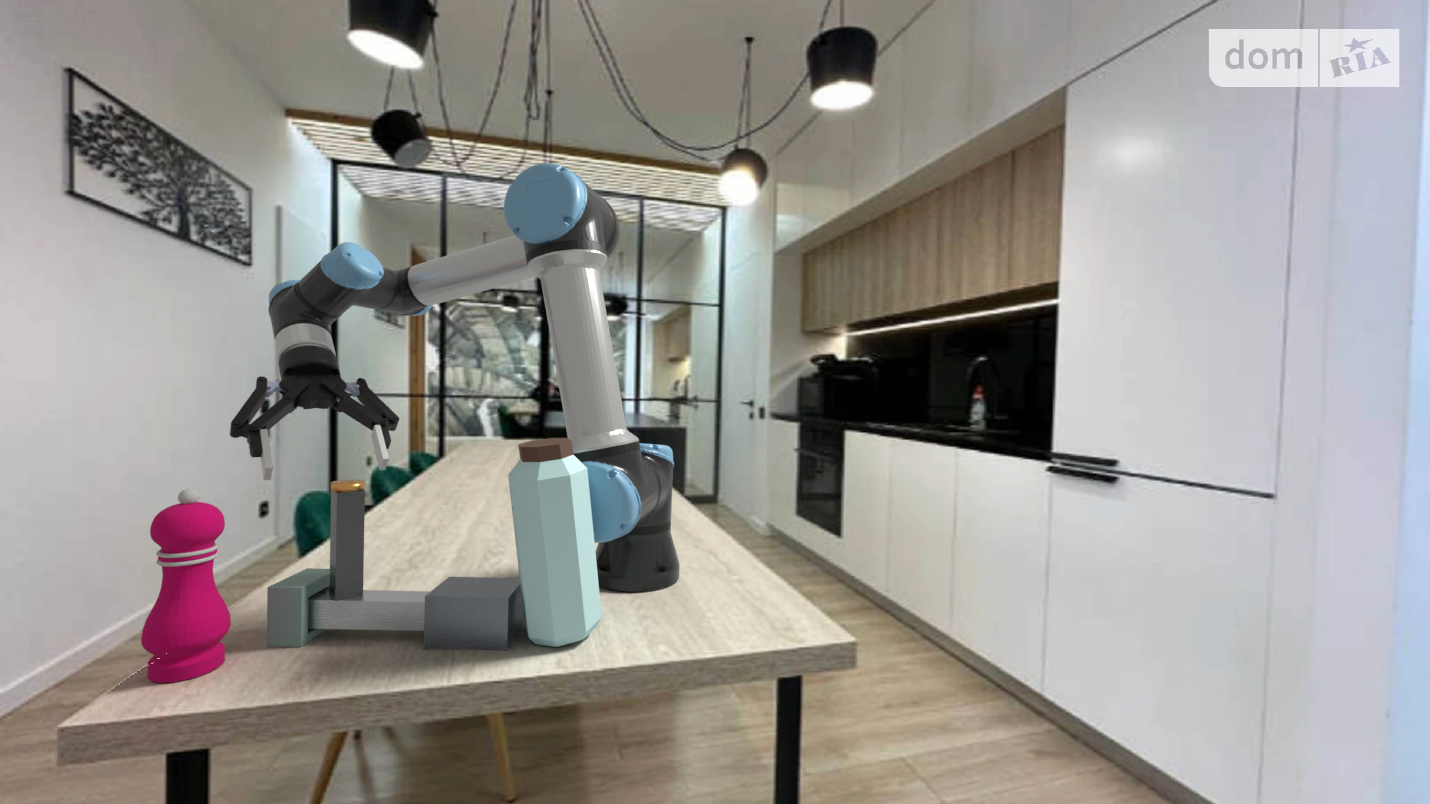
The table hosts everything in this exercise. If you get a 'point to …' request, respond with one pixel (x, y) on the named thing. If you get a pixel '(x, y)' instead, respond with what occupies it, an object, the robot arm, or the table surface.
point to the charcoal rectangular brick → (473, 614)
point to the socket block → (293, 608)
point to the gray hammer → (358, 576)
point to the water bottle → (554, 543)
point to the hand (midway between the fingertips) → (329, 469)
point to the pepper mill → (186, 593)
